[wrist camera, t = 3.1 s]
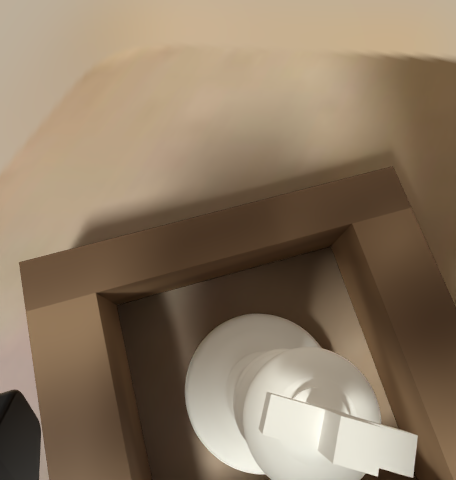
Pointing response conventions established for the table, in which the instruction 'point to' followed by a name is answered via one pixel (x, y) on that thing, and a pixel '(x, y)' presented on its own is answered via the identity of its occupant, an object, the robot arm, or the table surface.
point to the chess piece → (288, 406)
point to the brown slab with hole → (223, 263)
